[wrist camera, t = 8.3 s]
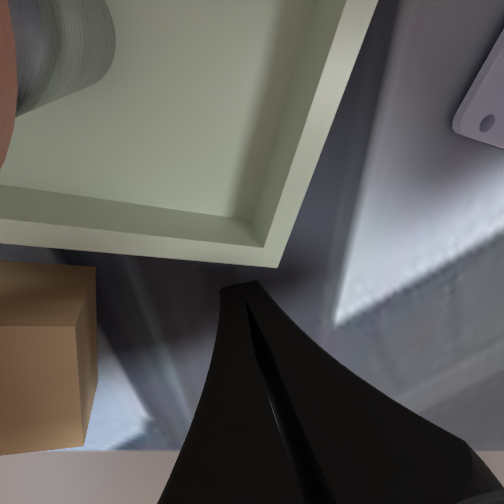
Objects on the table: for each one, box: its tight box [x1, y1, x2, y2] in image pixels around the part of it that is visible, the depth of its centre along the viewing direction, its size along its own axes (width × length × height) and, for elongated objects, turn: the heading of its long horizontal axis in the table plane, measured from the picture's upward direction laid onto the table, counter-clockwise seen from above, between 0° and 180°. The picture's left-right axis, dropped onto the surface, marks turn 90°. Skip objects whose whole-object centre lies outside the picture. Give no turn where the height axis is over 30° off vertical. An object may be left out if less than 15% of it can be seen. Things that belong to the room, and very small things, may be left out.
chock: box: [0, 261, 98, 455], centre depth 9 cm, size 4×6×3 cm, turn 166°
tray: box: [0, 0, 378, 268], centre depth 6 cm, size 10×8×2 cm
